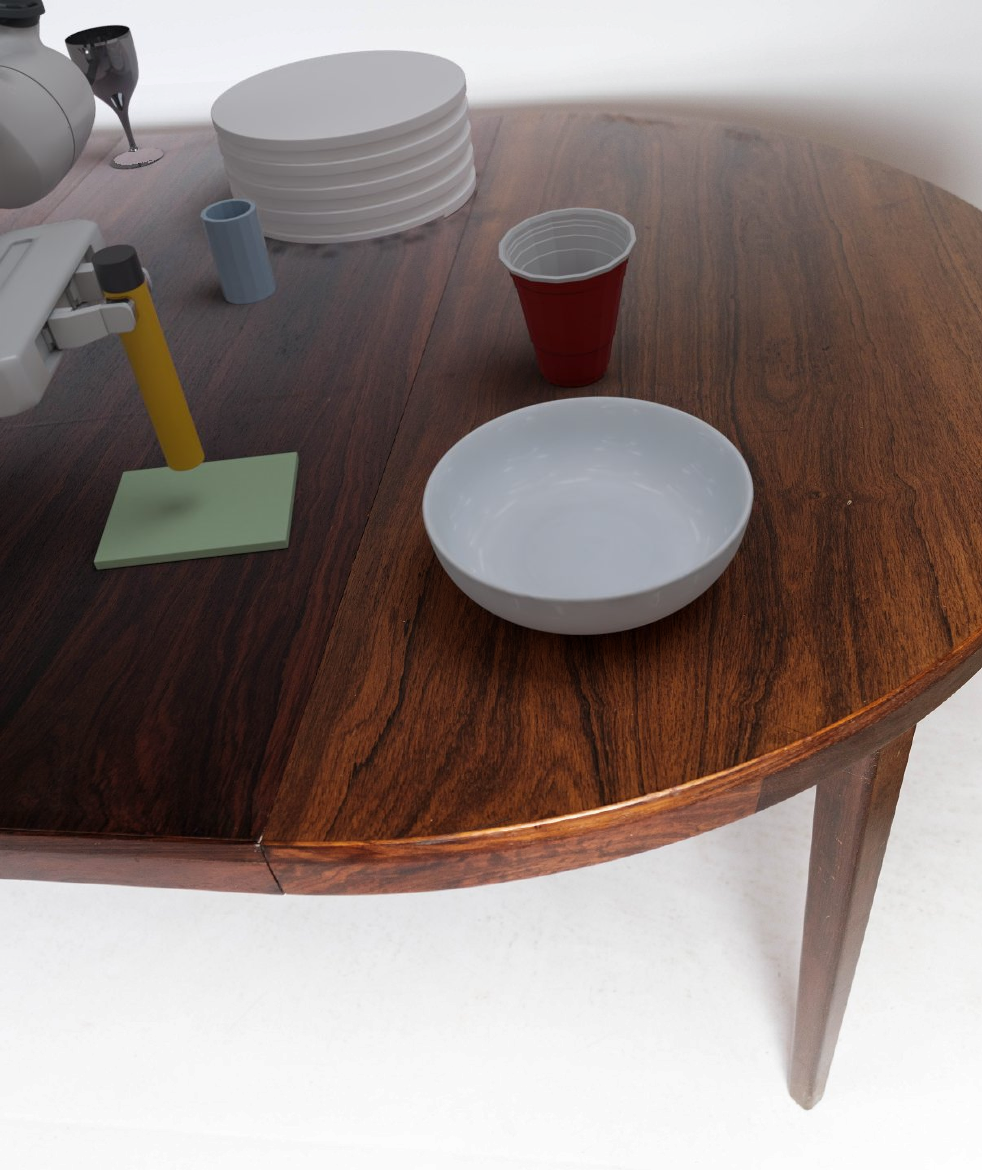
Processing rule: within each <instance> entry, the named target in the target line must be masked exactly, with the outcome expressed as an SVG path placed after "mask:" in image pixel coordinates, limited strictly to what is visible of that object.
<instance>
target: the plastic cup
mask: <svg viewBox="0 0 982 1170" xmlns="http://www.w3.org/2000/svg"><path fill="white" fill-rule="evenodd" d="M636 243H637V236H636V232H635V227H634V225H633V224H632V223H630V222H629V221H628V220H627V219H626V218H625V217H624V216H623V215H621V214H618V213H616V212H612V211H609V210H605V209H602V208H595V207H593V208H591V207H569V208H560V209H554V210H553V209H552V210H548V211H545V212H542V213H540V214H537V215H533V216H531V217H528V218H525V219H524V220H523V221H520V222H519V223H518V224H516V225H515V226H513V227H511V228H510V229H508V230H507V232H506V233H505V235H504V236H503V237H502V239H501V240H500V241H499V243H498V258H499V260H500V263H501V264H502V265H503V266H504V267H505V268H506V269H507V270H508V272H509V276H510V277H511V279H512V282H513V285H514V288H515V289H516V291H517V295H518V299H519V303H520V306H521V309H522V314H523V317H524V321H525V324H526V329H527V331H528V335H529V339H530V342H531V343H532V345H533V350H534V354H535V358H536V361H537V365H538V370H540V373H541V376H542V377H543V378H544V379H545V380H546V381H547V382H549V383H550V384H554V385H556V386H561V387H566V388H567V387H568V388H573V387H583V386H586V385H589V384H593V383H595V382H597V381H599V380H600V379H601V378H604V375H605V374H606V372H607V371H608V367H609V365H610V363H611V356H612V348H613V343H614V342H613V341H614V338H615V336H616V331H617V325H618V317H619V311H620V305H621V298H622V291H623V285H624V279H625V276H626V273H627V266H628V263H629V260H630V259H629V258H630V255H631V253H632V251H633V250H634V248H635V245H636Z"/></svg>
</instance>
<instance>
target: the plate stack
mask: <svg viewBox="0 0 982 1170" xmlns="http://www.w3.org/2000/svg"><path fill="white" fill-rule="evenodd" d="M466 79H467V78H466V73H465V71H464V70H463V68H462V67H461V66H460V65H459V64H457V63H456V62H454V61H453V60H451V59H448V58H445V57H443V56H440V55H436V54H432V53H426V52H420V51H413V50H400V49H399V50H396V49H395V50H394V49H381V50H379V49H376V50H360V51H359V50H358V51H349V52H348V51H347V52H340V53H333V54H327V55H322V56H321V55H320V56H316V57H311V58H306V59H302V60H297V61H293V62H290V63H286V64H282V65H279V66H276V67H273V68H270V69H268V70H264V71H262V72H259V73H257V74H254V75H251V76H249V77H248V78H246V79H244V80H241V81H239V82H237V83H235V84H234V85H232V86H231V87H229V88H228V89H226V90H225V91H224V92H222V93H221V94H220V95H219V96H218V97H217V98H216V99H215V101H214V102H213V104H212V106H211V108H210V118H211V122H212V125H213V128H214V131H215V132H216V133H217V134H216V139H217V144H218V147H219V151H220V154H221V156H222V157H223V159H222V160H223V166H224V171H225V174H226V176H227V178H228V180H229V181H228V183H229V185H228V186H229V189H230V193H231V197H232V199H247V200H251V201H253V202H254V203H255V204H256V207H257V211H258V215H259V219H260V223H261V227H262V231H263V235H264V238H269V239H272V240H277V241H282V242H287V243H297V244H339V243H340V244H341V243H351V242H358V241H364V240H365V241H366V240H370V239H377V238H381V237H385V236H390V235H393V234H397V233H402V232H405V231H407V230H411V229H414V228H417V227H419V226H421V225H424V224H426V223H429V222H431V221H434V220H435V219H438V218H440V217H442V216H443V217H444V219H446V218H447V217H449V216H451V215H453V214H454V213H455V212H457V211H458V210H459V209H461V208H462V207H463V206H464V205H465V204H466V203H467V202H468V201H469V200H470V198H471V197H472V195H473V194H474V191H475V190H476V186H477V175H476V167H475V165H474V163H475V154H474V146H473V143H472V135H473V134H472V127H471V126H472V125H471V122H470V119H469V117H470V106H469V99H468V96H467V89H468V87H467V80H466Z"/></svg>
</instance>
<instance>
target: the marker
mask: <svg viewBox="0 0 982 1170" xmlns="http://www.w3.org/2000/svg"><path fill="white" fill-rule="evenodd" d="M91 262H92V265H93V267H94V270H95V273H96V275H97V278H98V281H99V283H100V286H101V289H102V290H103V292H104V295H105V297H104V298H109V297H121V296H129V297H131V298H133V300H134V301H135V304H136V309H137V310H138V312H139V318H138V321H137V323H136V326H135V328H134V330H133V331H131V332H123V333H118V335H119V338H120V340H121V344H122V346H123V348H124V350H125V354H126V357H127V360H128V362H129V365H130V367H131V370H132V372H133V375H134V378H135V381H136V383H137V385H138V389H139V392H140V394H141V397H142V399H143V402H144V406H145V407H146V410H147V413H148V416H149V418H150V421H151V424H152V426H153V429H154V432H155V434H156V438H157V440H158V442H159V445H160V447H161V451H162V453H163V457H164V458H165V462H166V464H167V467H169V468H170V469H172V470H174V471H187V470H191V469H193V468H195V467H197V466H199V465H200V464H201V463H204V461H205V458H206V457H205V453H204V450H203V446H202V444H201V441H200V438H199V434H198V432H197V429H196V426H195V423H194V420H193V418H192V414H191V412H190V408H189V405H188V402H187V400H186V397H185V394H184V391H183V388H182V385H181V382H180V379H179V375H178V373H177V370H176V368H175V365H174V361H173V359H172V355H171V353H170V349H169V346H168V344H167V341H166V338H165V334H164V332H163V329H162V326H161V322H160V321H159V317H158V315H157V311H156V308H155V306H154V303H153V299H152V297H151V292H150V293H149V290H148V287H147V284H146V282H145V276H144V273H143V270H142V264H141V261H140V259H139V256H138V252H137V250H136V248H135V247H134V245H130V244H115V245H109V246H107V247H106V248H103V249H101V250H99V251H97V252H96V253H94V254H93V255H92V257H91Z"/></svg>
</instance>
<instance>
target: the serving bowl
mask: <svg viewBox="0 0 982 1170" xmlns="http://www.w3.org/2000/svg"><path fill="white" fill-rule="evenodd" d="M421 504H422V505H421V507H422V520H423V524H424V528H425V531H426V534H427V537H428V539H429V541H430V545H431V547H432V548H433V551H434V553H435V555H436V557H437V559H438V561H439V563H440V564H441V566H442V568H443V569H444V571H445V572H446V574H447V575H448V576H449V577H450V579H451V580H452V581H453V583H454V584H455V585H456V586H457V587H458V588H459V589H460V590H461V591H462V592H463V593H464V594H465V595H466V596H468V598H469V599H471V600H472V601H474V602H475V603H476V604H477V605H479V606H480V607H482V608H483V609H485V610H487V611H489V612H490V613H492V615H495V616H497V617H499V618H501V619H504V620H506V621H508V622H511V623H513V624H515V625H518V626H522V627H524V628H528V629H531V630H534V631H535V630H536V631H541V632H544V633H545V632H546V633H553V634H560V635H571V636H573V635H575V636H577V635H578V636H583V635H584V636H587V635H588V636H589V635H590V636H591V635H603V634H611V633H618V632H622V631H628V630H632V629H636V628H639V627H643V626H645V625H648V624H651V623H655V622H657V621H659V620H661V619H663V618H666V617H668V616H671V615H672V614H674V613H676V612H677V611H680V610H681V609H683V608H684V607H686V606H688V605H689V604H691V603H692V602H693V601H695V600H696V599H697V598H698V597H700V596H702V594H703V593H705V592H706V591H707V590H708V589H709V588H710V587H711V586H712V585H714V583H715V582H716V581H717V580H718V579H719V578H720V576H721V575H722V574H723V573H724V572H725V570H726V569H727V568H728V566H729V565H730V563H731V562H732V560H733V559H734V557H735V555H736V554H737V551H738V550H739V548H740V545H741V543H742V541H743V538H744V536H745V533H746V530H747V527H748V524H749V521H750V517H751V514H752V510H753V504H754V483H753V478H752V475H751V472H750V469H749V466H748V463H747V462H746V460H745V458H744V457H743V455H742V453H741V452H740V451H739V450H738V448H737V447H736V446H735V445H734V444H733V443H732V442H731V440H729V438H727V437H726V436H725V435H724V434H723V433H722V432H720V431H719V430H718V429H716V428H715V427H713V426H712V425H710V424H709V423H707V422H705V421H704V420H702V419H700V418H698V417H697V416H694V415H692V414H689V413H687V412H685V411H682V410H680V409H677V408H674V407H671V406H668V405H664V404H661V403H657V402H655V401H648V400H642V399H638V398H637V399H636V398H631V397H630V398H629V397H621V396H620V397H619V396H583V397H572V398H571V397H570V398H564V399H557V400H556V399H555V400H550V401H545V402H541V403H537V404H533V405H528V406H524V407H522V408H519V409H516V410H512V411H510V412H507V413H505V414H503V415H500V416H498V417H495V418H494V419H491V420H489V421H487V422H485V423H484V424H481V425H480V426H478V427H476V428H475V429H473V430H472V431H471V432H469V433H467V434H466V435H465V436H463V437H462V438H461V439H459V440H458V441H457V442H456V443H455V444H454V445H453V446H451V448H450V449H449V450H447V451H446V453H445V454H444V455H443V456H442V458H440V459H439V461H438V463H437V464H436V465H435V467H434V468H433V470H432V471H431V473H430V476H429V477H428V480H427V482H426V485H425V488H424V492H423V497H422V503H421Z"/></svg>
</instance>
